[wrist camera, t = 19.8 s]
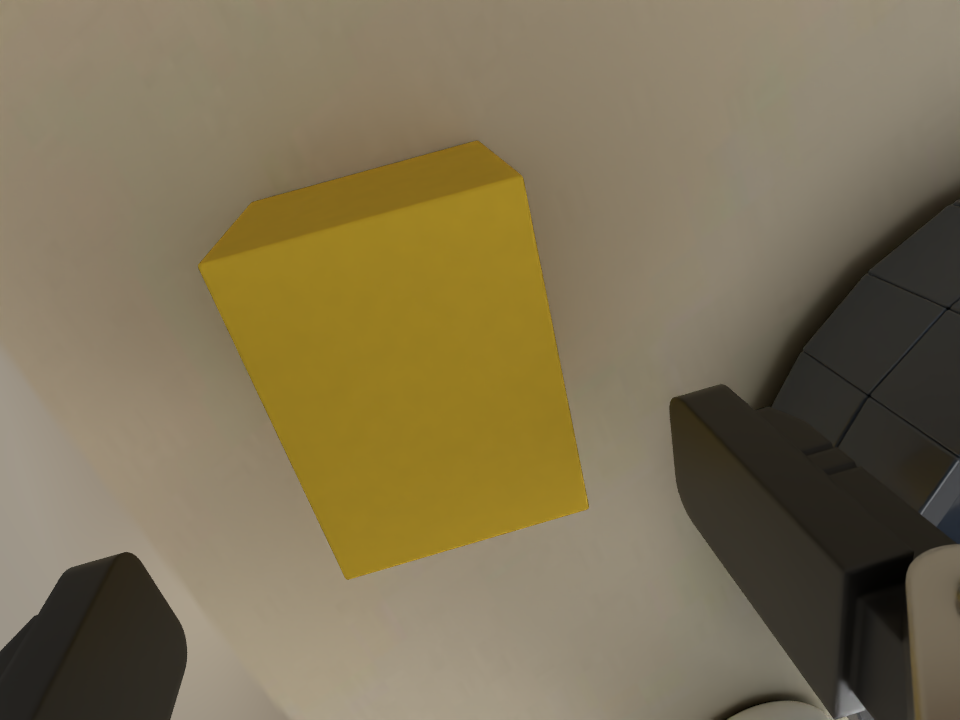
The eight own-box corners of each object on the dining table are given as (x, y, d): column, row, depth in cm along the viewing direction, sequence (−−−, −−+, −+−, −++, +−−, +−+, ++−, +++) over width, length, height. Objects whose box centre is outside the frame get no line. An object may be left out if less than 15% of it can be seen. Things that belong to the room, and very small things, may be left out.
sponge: (353, 453, 14) (345, 581, 11) (249, 202, 12) (195, 265, 8) (537, 399, 15) (590, 509, 11) (478, 139, 12) (523, 174, 8)
